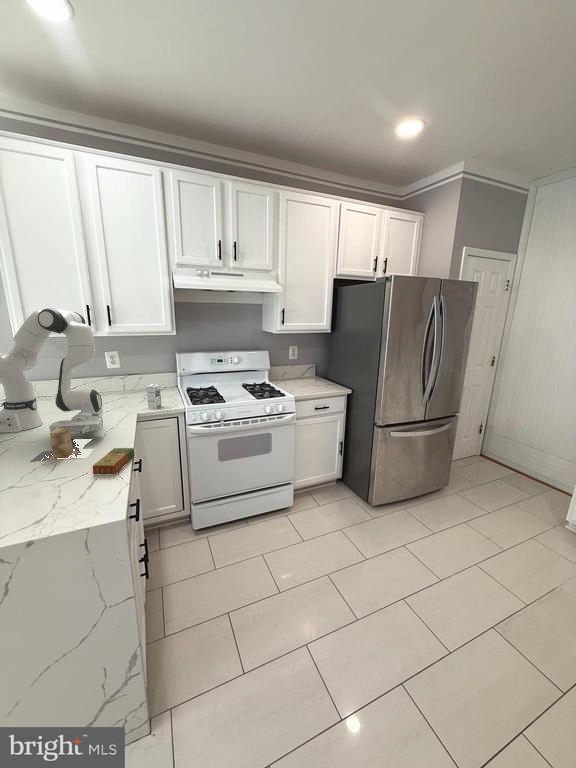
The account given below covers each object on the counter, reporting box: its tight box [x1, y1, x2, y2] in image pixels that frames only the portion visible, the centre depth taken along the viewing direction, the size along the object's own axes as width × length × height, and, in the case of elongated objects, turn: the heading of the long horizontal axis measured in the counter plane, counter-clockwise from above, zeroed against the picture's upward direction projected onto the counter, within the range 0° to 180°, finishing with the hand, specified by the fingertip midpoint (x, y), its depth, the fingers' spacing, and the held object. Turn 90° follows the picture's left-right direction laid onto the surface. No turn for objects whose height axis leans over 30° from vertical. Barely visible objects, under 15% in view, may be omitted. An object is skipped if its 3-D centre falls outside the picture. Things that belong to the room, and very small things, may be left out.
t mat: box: [29, 438, 81, 463], centre depth 138 cm, size 21×23×1 cm
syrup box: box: [145, 383, 162, 410], centre depth 197 cm, size 6×6×14 cm
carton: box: [92, 447, 135, 475], centre depth 123 cm, size 8×16×4 cm, turn 2°
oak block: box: [49, 428, 73, 459], centre depth 129 cm, size 5×5×11 cm
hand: (69, 432), depth 136 cm, fingers open, 8 cm apart
